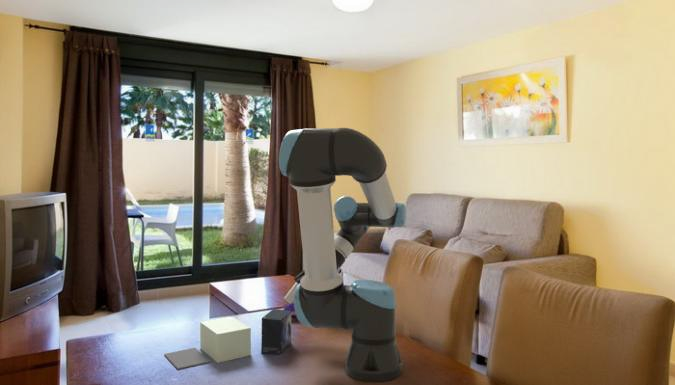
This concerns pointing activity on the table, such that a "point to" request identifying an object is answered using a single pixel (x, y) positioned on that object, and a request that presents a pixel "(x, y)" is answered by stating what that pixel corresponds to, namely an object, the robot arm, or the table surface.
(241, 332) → the step
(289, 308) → the game controller
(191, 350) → the mat
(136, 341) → the table surface
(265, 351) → the small box
